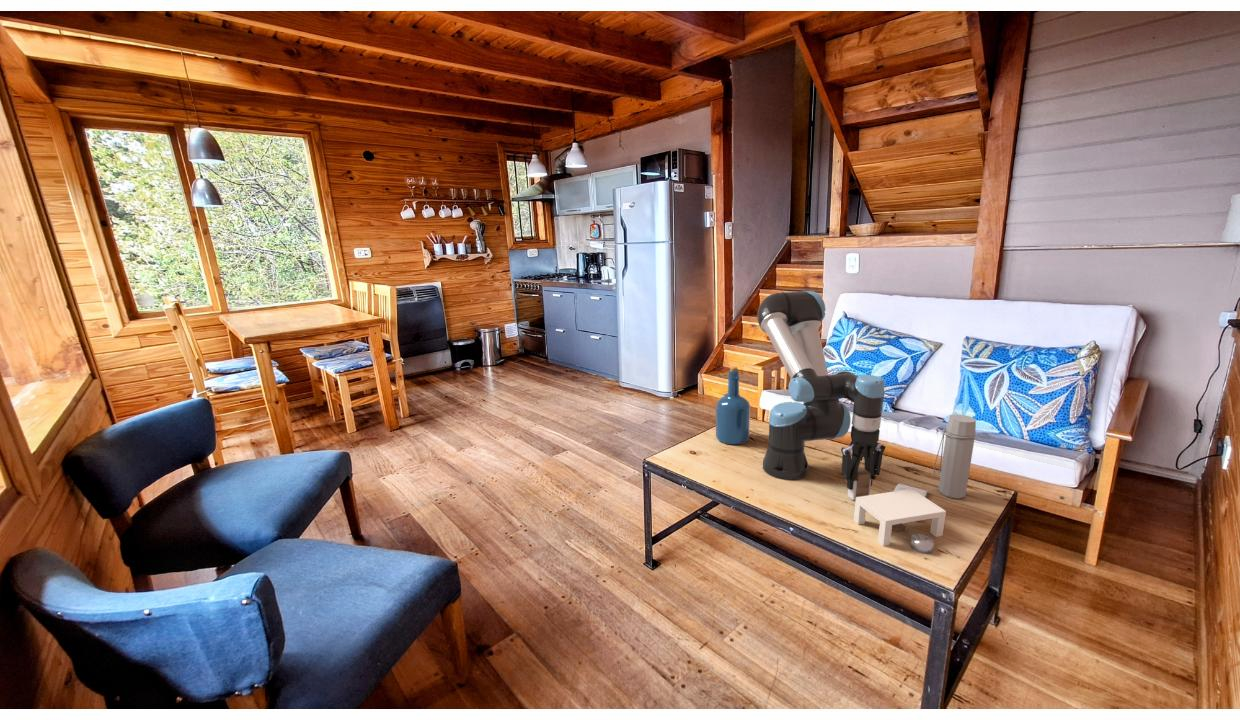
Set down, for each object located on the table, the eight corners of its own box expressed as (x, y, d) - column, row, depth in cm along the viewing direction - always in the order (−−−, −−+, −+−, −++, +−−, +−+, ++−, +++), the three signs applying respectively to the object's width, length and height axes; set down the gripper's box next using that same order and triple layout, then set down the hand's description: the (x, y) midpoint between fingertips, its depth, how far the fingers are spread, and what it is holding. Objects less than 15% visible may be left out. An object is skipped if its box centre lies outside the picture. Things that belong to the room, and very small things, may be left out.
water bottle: (968, 493, 151) (980, 417, 144) (962, 503, 145) (974, 425, 139) (934, 483, 157) (945, 410, 151) (927, 492, 152) (937, 417, 146)
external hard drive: (887, 503, 148) (897, 487, 157) (918, 513, 142) (926, 495, 151) (887, 499, 147) (898, 482, 156) (918, 508, 142) (927, 490, 151)
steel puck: (905, 543, 129) (906, 535, 128) (922, 541, 129) (923, 532, 129) (919, 555, 124) (921, 547, 123) (937, 552, 125) (938, 544, 124)
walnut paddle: (848, 495, 152) (850, 469, 150) (859, 493, 153) (861, 467, 151) (894, 532, 133) (897, 503, 131) (907, 529, 134) (910, 500, 132)
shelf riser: (853, 520, 139) (855, 497, 137) (908, 511, 142) (911, 488, 140) (883, 546, 128) (885, 521, 126) (942, 535, 131) (946, 511, 129)
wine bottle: (751, 446, 189) (754, 372, 182) (717, 445, 191) (718, 372, 183) (746, 431, 202) (748, 362, 195) (714, 431, 204) (714, 362, 196)
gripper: (847, 435, 139) (840, 507, 146) (900, 428, 142) (891, 499, 149) (831, 425, 146) (826, 494, 153) (882, 419, 149) (874, 486, 156)
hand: (858, 496), depth 151 cm, fingers closed on walnut paddle, 4 cm apart
